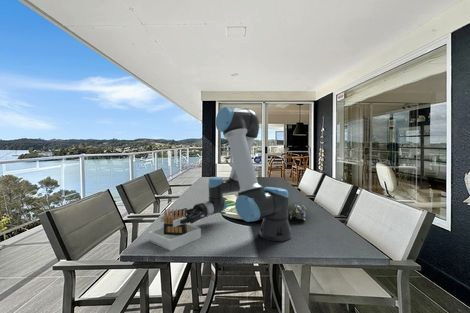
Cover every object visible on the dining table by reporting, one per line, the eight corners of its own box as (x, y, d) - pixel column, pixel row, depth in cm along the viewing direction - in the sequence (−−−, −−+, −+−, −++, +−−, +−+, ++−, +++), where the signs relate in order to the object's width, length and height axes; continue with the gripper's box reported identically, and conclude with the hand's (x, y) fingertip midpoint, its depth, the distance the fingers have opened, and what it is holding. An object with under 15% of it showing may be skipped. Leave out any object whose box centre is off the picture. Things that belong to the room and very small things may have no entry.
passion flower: (303, 229, 145) (310, 216, 138) (284, 226, 145) (291, 213, 137) (300, 213, 154) (307, 200, 146) (283, 210, 153) (289, 197, 146)
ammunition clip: (163, 234, 117) (162, 209, 116) (165, 233, 119) (164, 207, 118) (185, 235, 116) (185, 209, 115) (187, 234, 117) (186, 208, 116)
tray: (201, 237, 119) (200, 228, 119) (170, 250, 106) (170, 240, 105) (179, 230, 129) (179, 221, 129) (148, 241, 115) (148, 231, 115)
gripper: (218, 221, 124) (182, 235, 107) (188, 213, 138) (152, 224, 120) (218, 206, 124) (182, 217, 106) (188, 199, 137) (152, 209, 119)
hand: (166, 221), depth 113 cm, fingers closed on ammunition clip, 9 cm apart
